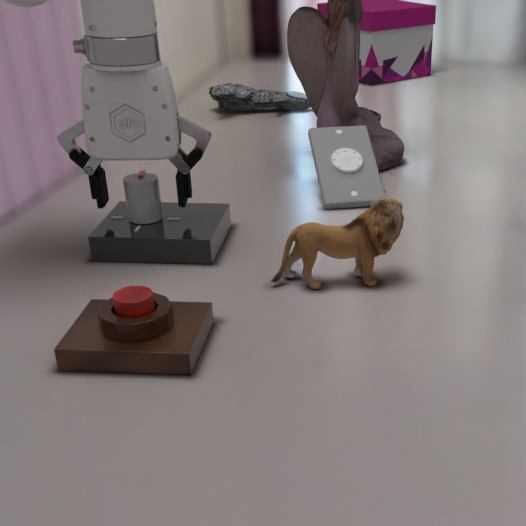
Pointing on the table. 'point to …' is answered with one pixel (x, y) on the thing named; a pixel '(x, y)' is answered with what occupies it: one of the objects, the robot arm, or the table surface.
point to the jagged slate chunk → (256, 98)
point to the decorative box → (394, 40)
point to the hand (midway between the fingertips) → (143, 203)
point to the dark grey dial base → (163, 235)
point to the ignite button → (133, 302)
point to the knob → (142, 198)
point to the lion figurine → (345, 241)
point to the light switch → (345, 166)
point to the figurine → (337, 73)
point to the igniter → (136, 338)
